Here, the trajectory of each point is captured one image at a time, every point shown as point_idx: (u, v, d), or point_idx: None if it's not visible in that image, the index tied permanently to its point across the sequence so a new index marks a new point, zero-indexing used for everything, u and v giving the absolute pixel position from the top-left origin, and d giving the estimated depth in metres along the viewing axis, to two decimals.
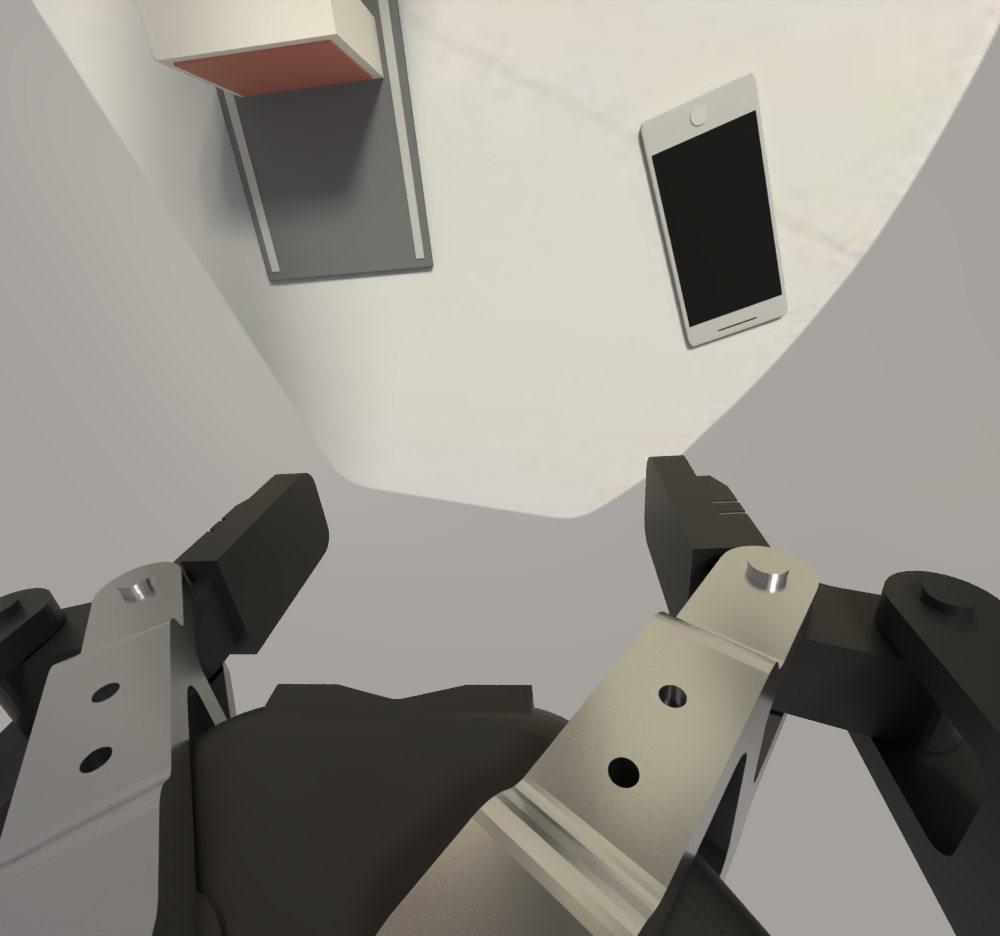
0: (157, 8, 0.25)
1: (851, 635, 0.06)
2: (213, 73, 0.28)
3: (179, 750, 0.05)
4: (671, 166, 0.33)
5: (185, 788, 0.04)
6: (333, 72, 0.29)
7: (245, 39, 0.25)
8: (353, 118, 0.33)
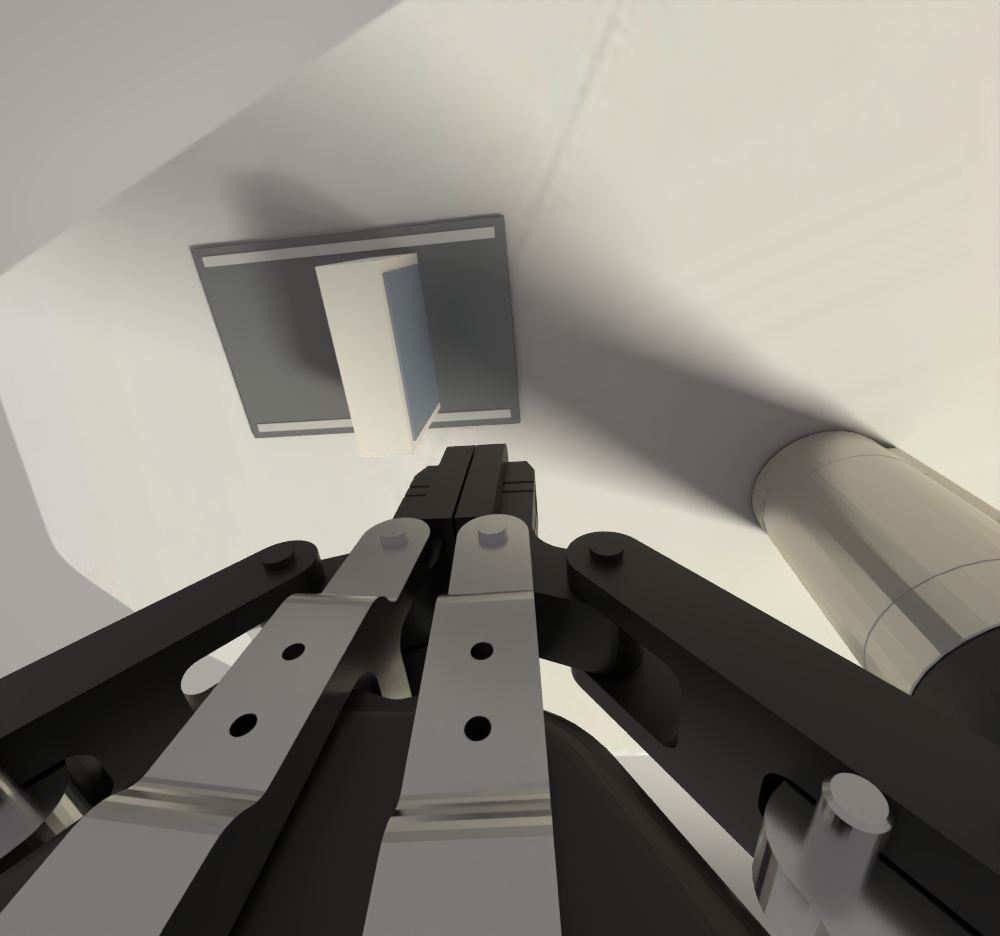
0: (359, 285, 0.23)
1: (544, 582, 0.08)
2: None
3: (298, 760, 0.04)
4: None
5: (282, 807, 0.04)
6: None
7: (346, 373, 0.25)
8: None
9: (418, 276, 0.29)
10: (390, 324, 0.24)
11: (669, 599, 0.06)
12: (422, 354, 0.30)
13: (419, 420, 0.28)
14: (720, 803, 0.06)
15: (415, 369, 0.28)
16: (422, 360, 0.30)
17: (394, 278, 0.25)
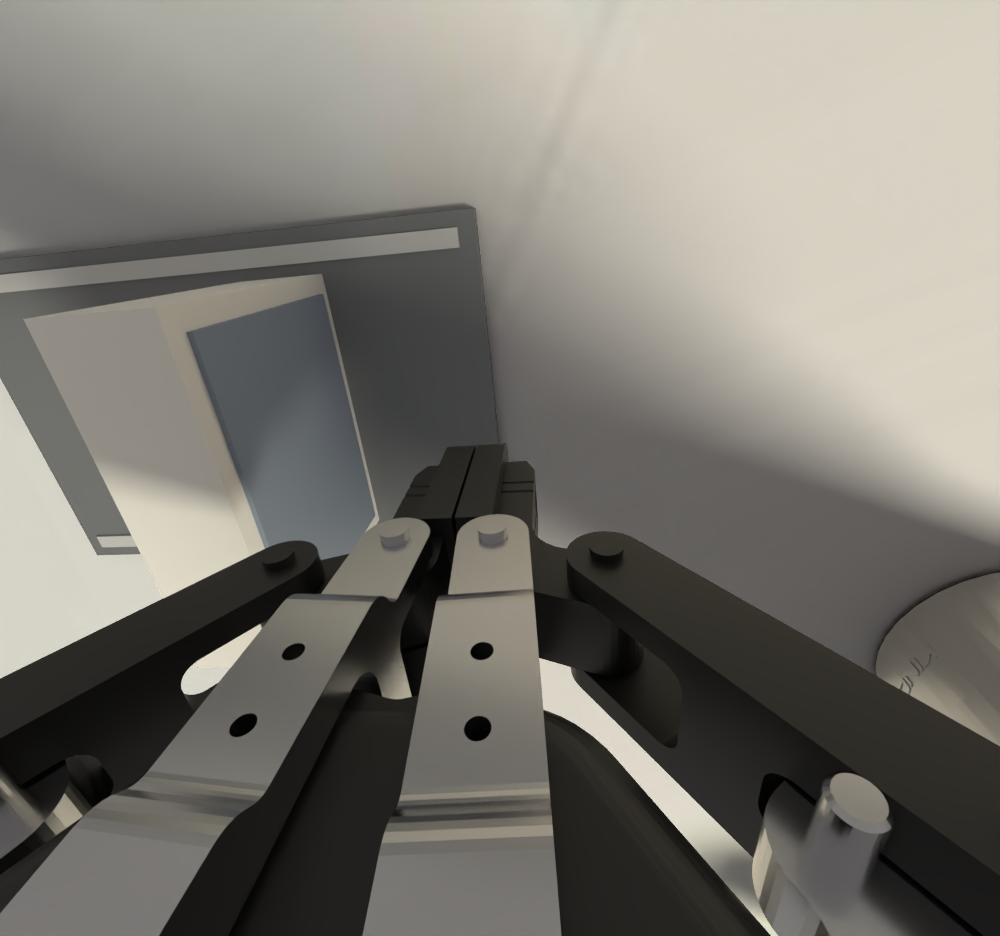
0: (129, 360, 0.10)
1: (544, 582, 0.08)
2: None
3: (298, 760, 0.04)
4: None
5: (282, 807, 0.04)
6: None
7: (139, 530, 0.12)
8: None
9: (323, 316, 0.16)
10: (217, 437, 0.11)
11: (669, 599, 0.06)
12: (331, 455, 0.17)
13: None
14: (720, 803, 0.06)
15: (306, 495, 0.15)
16: (329, 467, 0.16)
17: (235, 335, 0.12)
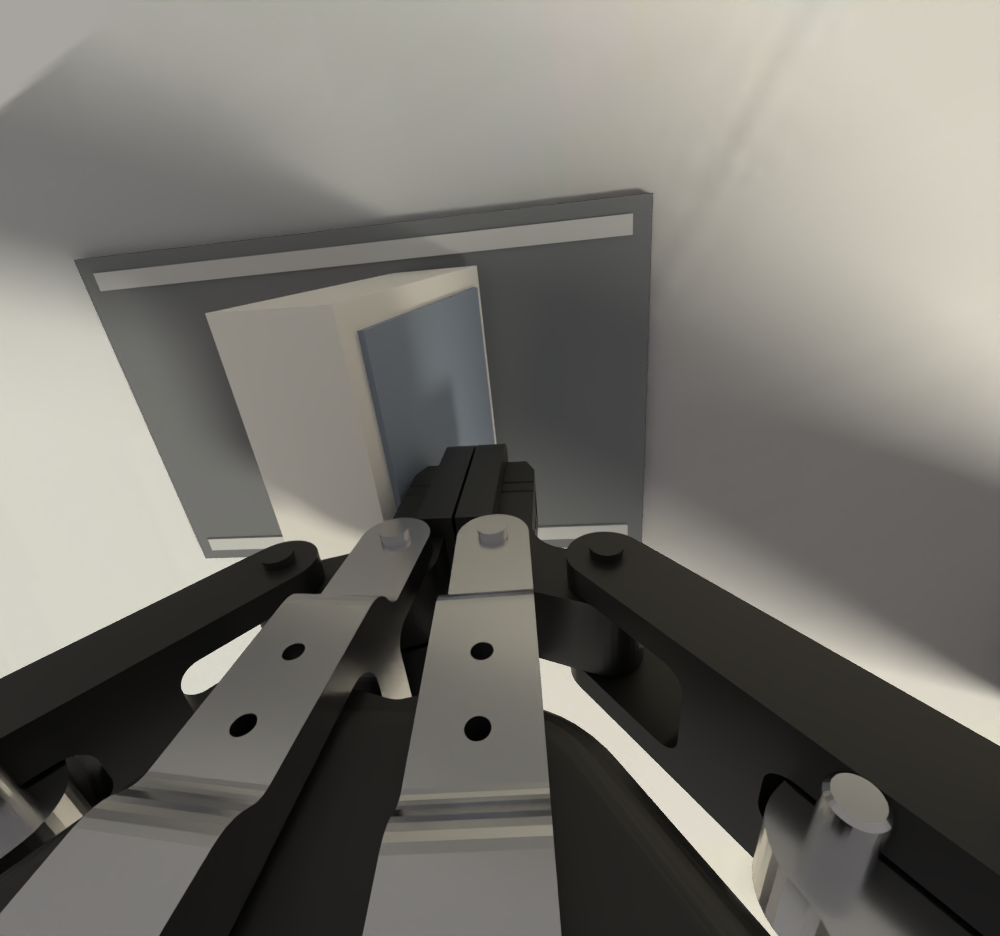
0: (300, 360, 0.10)
1: (544, 582, 0.08)
2: None
3: (297, 761, 0.04)
4: None
5: (281, 808, 0.04)
6: None
7: (290, 532, 0.12)
8: None
9: (475, 311, 0.15)
10: (377, 445, 0.10)
11: (669, 599, 0.06)
12: None
13: None
14: (720, 803, 0.06)
15: None
16: None
17: (399, 334, 0.11)
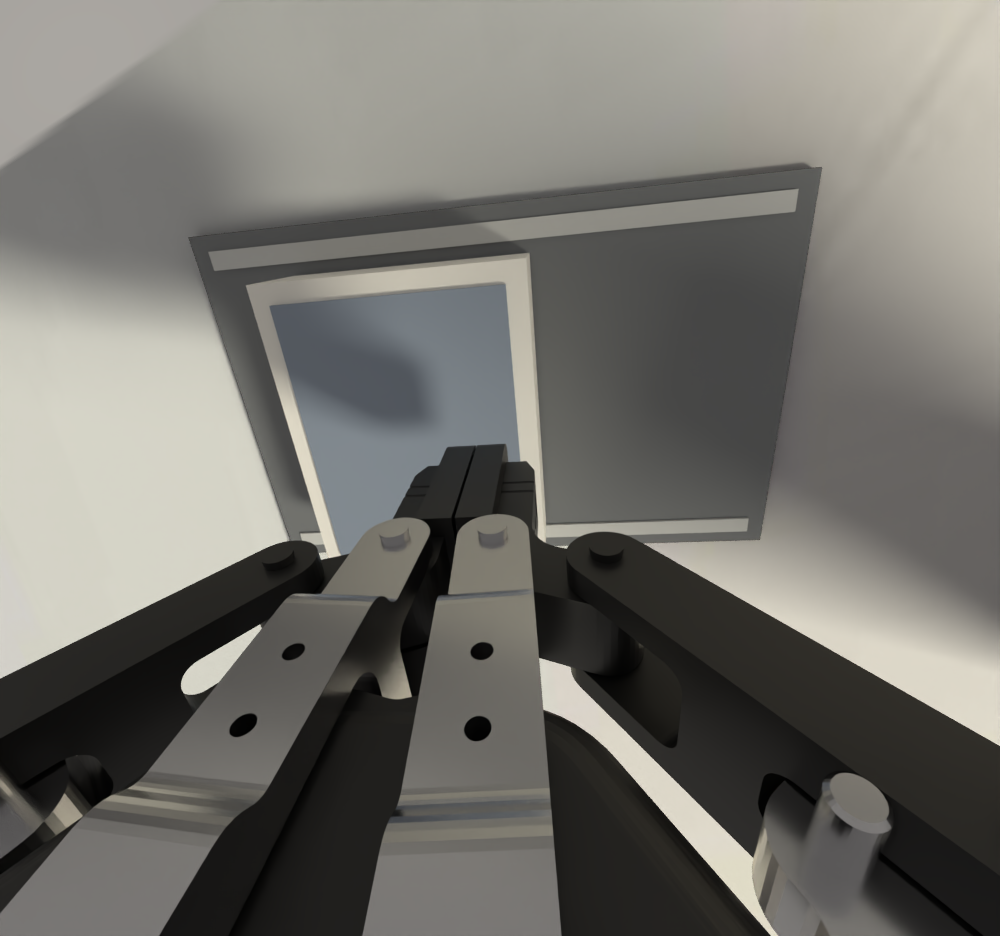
0: None
1: (544, 582, 0.08)
2: None
3: (297, 760, 0.04)
4: None
5: (281, 808, 0.04)
6: None
7: None
8: None
9: (492, 312, 0.13)
10: (286, 385, 0.15)
11: (669, 599, 0.06)
12: None
13: None
14: (720, 803, 0.06)
15: (385, 469, 0.16)
16: (438, 464, 0.16)
17: (318, 315, 0.14)
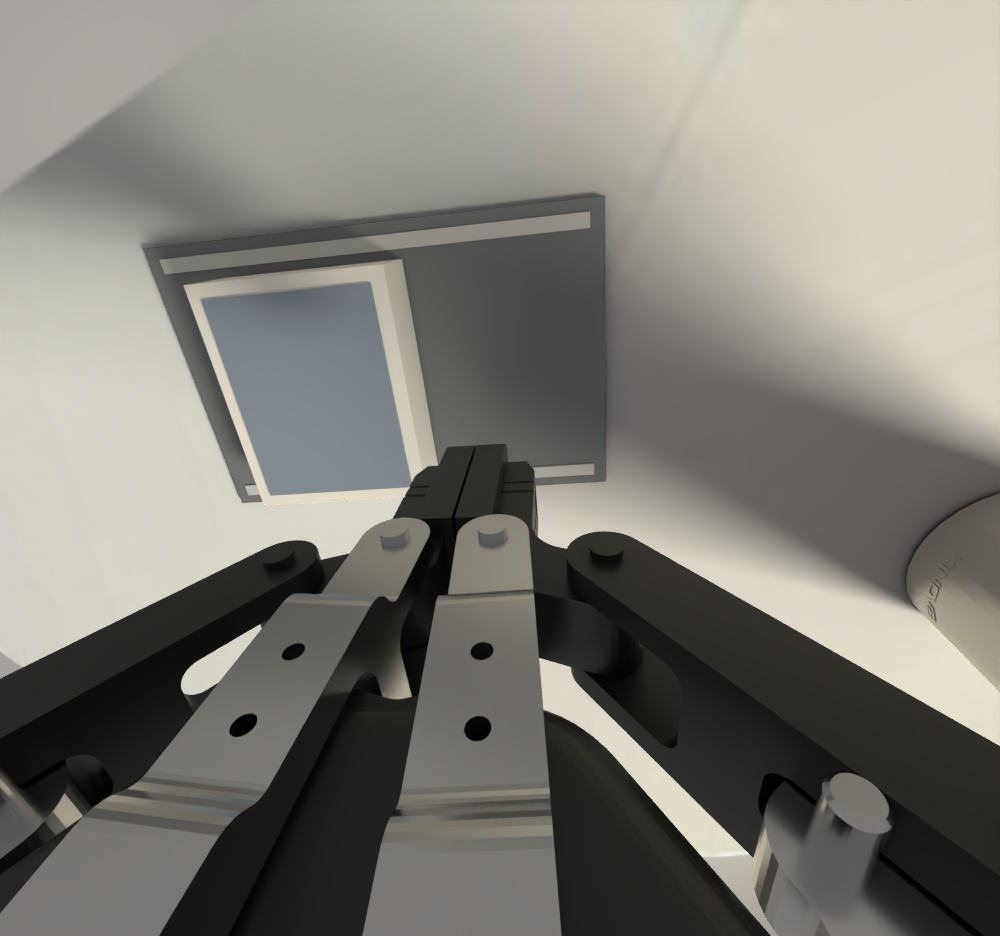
0: None
1: (544, 582, 0.08)
2: None
3: (298, 760, 0.04)
4: None
5: (282, 808, 0.04)
6: None
7: None
8: None
9: (362, 303, 0.19)
10: (218, 360, 0.20)
11: (669, 599, 0.06)
12: (341, 412, 0.21)
13: (295, 480, 0.22)
14: (720, 803, 0.06)
15: (297, 423, 0.21)
16: (336, 419, 0.21)
17: (237, 306, 0.19)
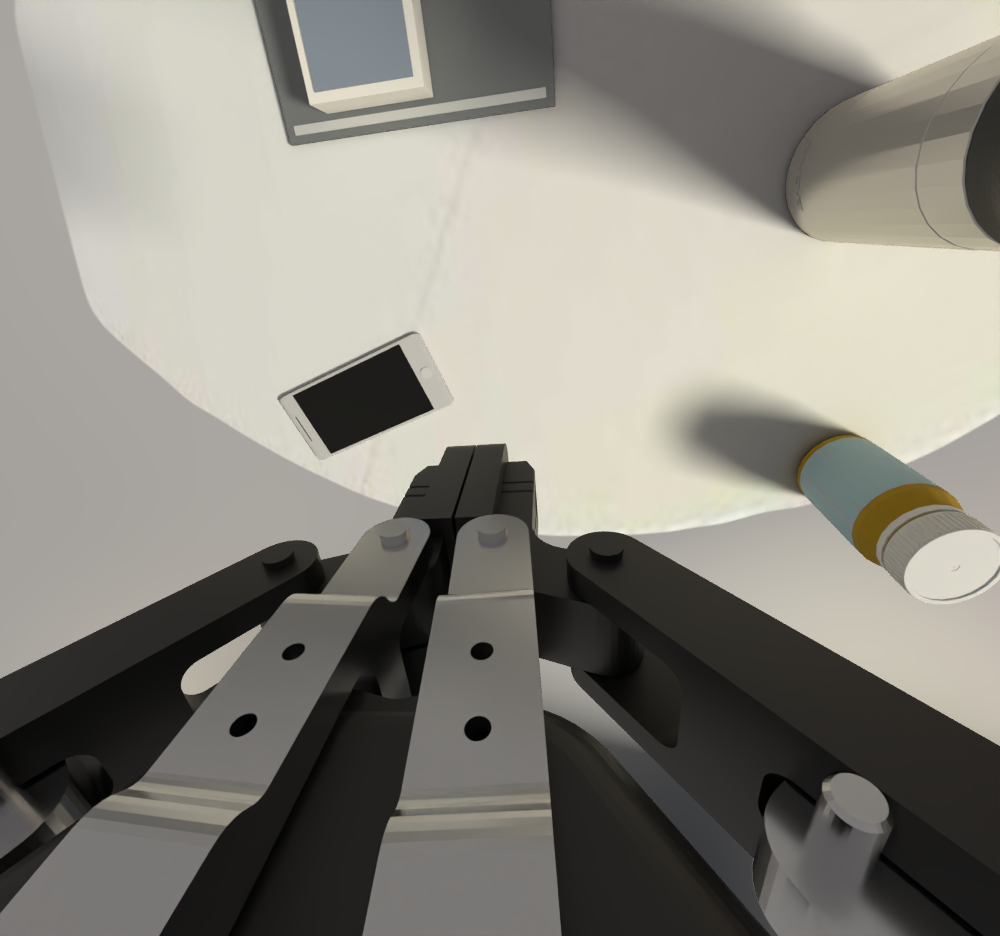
0: None
1: (544, 582, 0.08)
2: None
3: (298, 760, 0.04)
4: (395, 360, 0.44)
5: (282, 807, 0.04)
6: None
7: None
8: None
9: None
10: None
11: (669, 599, 0.06)
12: (365, 6, 0.30)
13: (332, 75, 0.32)
14: (720, 803, 0.06)
15: (334, 19, 0.31)
16: (361, 12, 0.31)
17: None
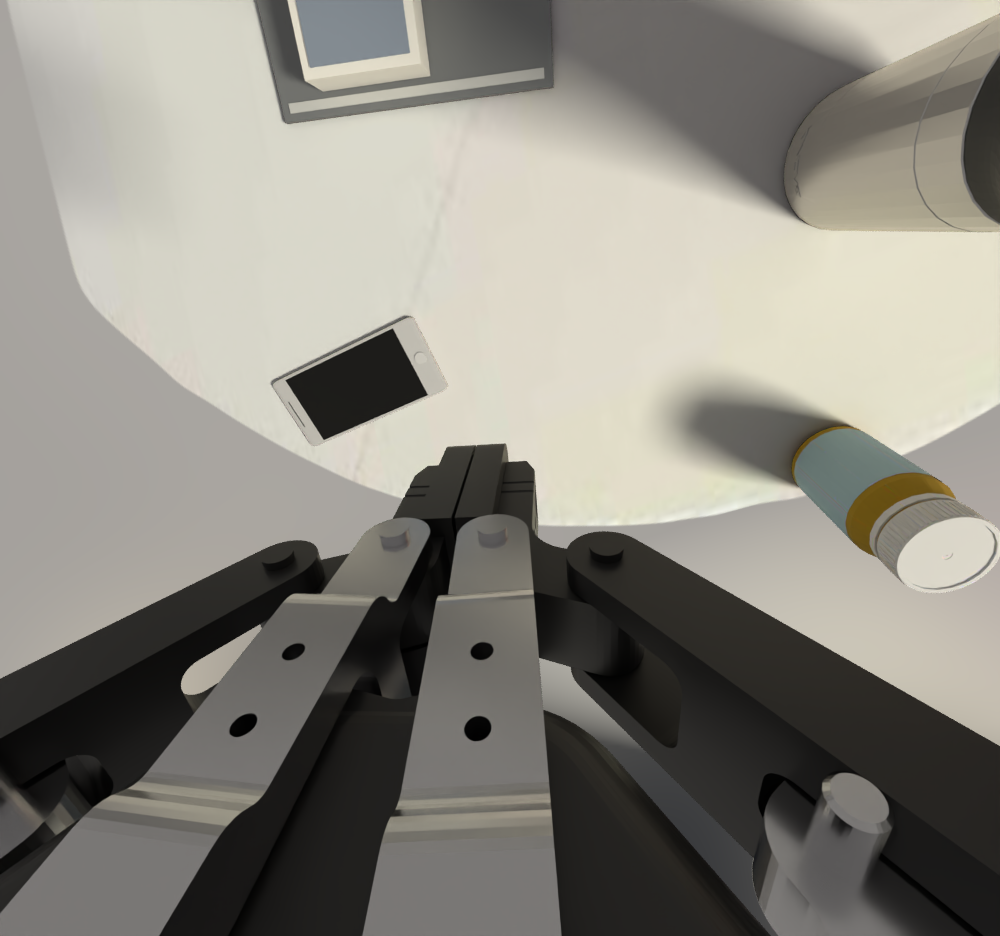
0: None
1: (544, 582, 0.08)
2: None
3: (297, 760, 0.04)
4: (388, 344, 0.43)
5: (281, 807, 0.04)
6: None
7: None
8: None
9: None
10: None
11: (669, 599, 0.06)
12: None
13: (327, 50, 0.32)
14: (720, 803, 0.06)
15: None
16: None
17: None
